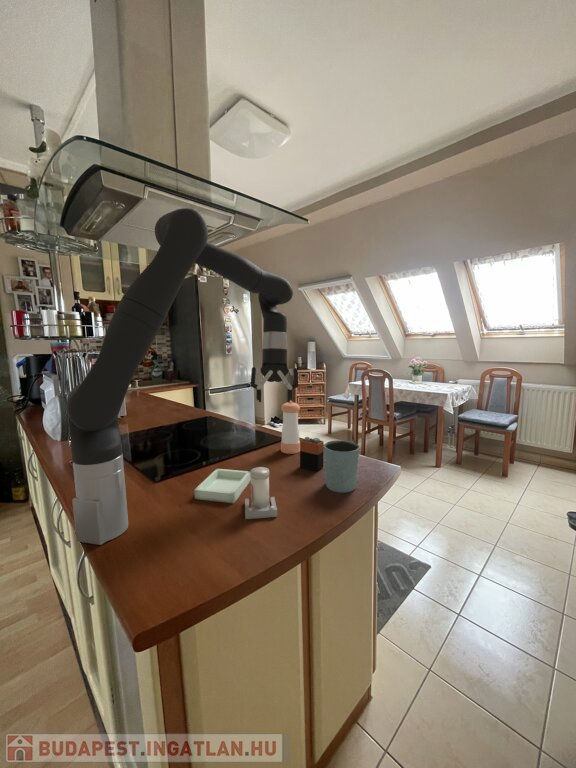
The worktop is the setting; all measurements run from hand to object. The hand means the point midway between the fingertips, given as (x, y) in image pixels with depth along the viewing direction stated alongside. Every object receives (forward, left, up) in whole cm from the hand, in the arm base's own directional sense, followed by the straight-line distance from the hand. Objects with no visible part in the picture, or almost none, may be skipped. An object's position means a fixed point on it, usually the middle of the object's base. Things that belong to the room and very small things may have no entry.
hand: (274, 402), depth 96 cm
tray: (-12, +12, -23) cm, 28 cm away
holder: (-20, -1, -23) cm, 30 cm away
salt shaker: (+22, 0, -23) cm, 32 cm away
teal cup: (-3, -20, -23) cm, 31 cm away
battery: (+8, -10, -23) cm, 27 cm away
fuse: (-20, -1, -23) cm, 31 cm away
